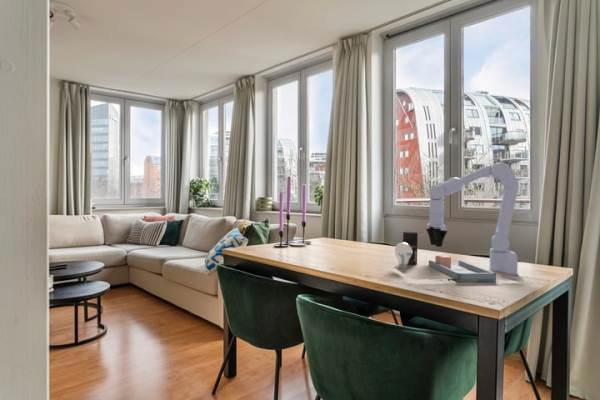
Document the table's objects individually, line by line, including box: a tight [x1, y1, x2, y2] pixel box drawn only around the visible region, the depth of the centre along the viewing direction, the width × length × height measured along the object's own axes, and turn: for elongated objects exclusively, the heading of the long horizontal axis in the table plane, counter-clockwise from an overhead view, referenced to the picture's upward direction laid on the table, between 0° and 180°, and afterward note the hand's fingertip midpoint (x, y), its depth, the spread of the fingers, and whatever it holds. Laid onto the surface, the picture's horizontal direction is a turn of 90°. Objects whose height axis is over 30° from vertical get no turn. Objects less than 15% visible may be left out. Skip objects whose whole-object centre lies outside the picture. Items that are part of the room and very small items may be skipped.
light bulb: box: [394, 241, 412, 270], centre depth 153 cm, size 7×7×12 cm
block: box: [434, 254, 452, 268], centre depth 155 cm, size 4×4×4 cm
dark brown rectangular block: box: [402, 231, 419, 266], centre depth 162 cm, size 6×6×15 cm
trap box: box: [428, 259, 497, 284], centre depth 147 cm, size 14×26×4 cm, turn 3°
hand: (436, 245), depth 162 cm, fingers open, 5 cm apart
